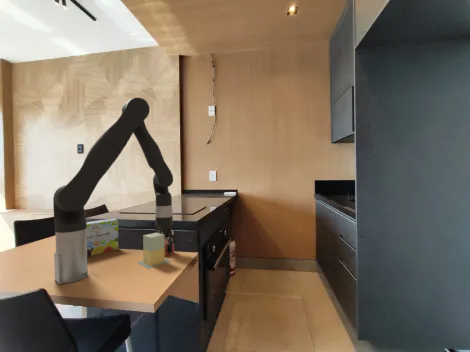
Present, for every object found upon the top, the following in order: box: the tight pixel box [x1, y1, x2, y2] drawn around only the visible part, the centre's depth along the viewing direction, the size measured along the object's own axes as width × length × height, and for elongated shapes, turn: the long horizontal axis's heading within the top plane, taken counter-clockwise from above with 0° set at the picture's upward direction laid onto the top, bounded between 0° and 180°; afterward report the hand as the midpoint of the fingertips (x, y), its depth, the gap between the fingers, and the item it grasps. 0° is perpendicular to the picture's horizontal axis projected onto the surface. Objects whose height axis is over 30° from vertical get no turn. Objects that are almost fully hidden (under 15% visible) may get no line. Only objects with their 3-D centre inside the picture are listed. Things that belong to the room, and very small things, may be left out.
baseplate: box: [136, 258, 172, 270], centre depth 98 cm, size 10×10×1 cm
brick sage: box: [142, 233, 165, 252], centre depth 98 cm, size 6×6×6 cm
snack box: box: [86, 218, 119, 258], centre depth 112 cm, size 21×6×15 cm, turn 143°
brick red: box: [164, 240, 175, 256], centre depth 110 cm, size 6×6×6 cm
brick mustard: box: [142, 249, 166, 266], centre depth 98 cm, size 6×6×6 cm
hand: (164, 250), depth 110 cm, fingers open, 8 cm apart
